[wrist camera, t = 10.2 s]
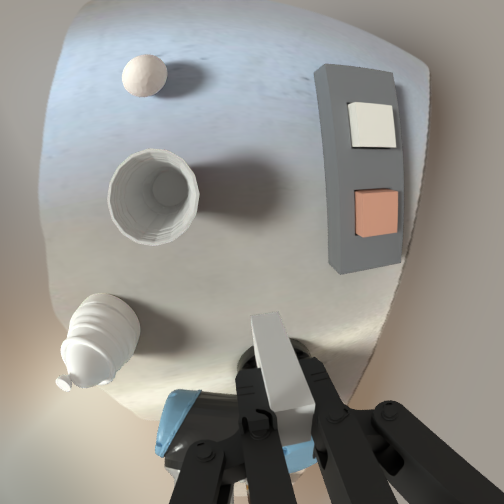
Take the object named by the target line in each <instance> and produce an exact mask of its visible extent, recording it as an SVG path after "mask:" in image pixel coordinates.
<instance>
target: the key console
mask: <svg viewBox="0 0 504 504" xmlns="http://www.w3.org/2000/svg"><path fill="white" fill-rule="evenodd" d="M314 79H315V86H316V93H317V100H318V107H319V115H320V124H321V133H322V143H323V154H324V166H325V179H326V195H327V216H328V253H329V264H330V265H331V266H332V267H333V268H334V269H335V270H336V271H337V272H338V273H339V274H340V275H341V274H347V273H352V272H357V271H362V270H368V269H373V268H378V267H383V266H387V265H392V264H397V263H401V254H402V241H403V221H404V169H403V150H402V137H401V126H400V117H399V109H398V102H397V95H396V89H395V83H394V77H393V73H391V72H386V71H381V70H375V69H368V68H361V67H354V66H345V65H335V64H324V65H323V66H321V67H320V68H319V69H318V70H316V71H315V72H314ZM353 102H362V103H373V104H383V105H391V106H392V110H393V119H394V128H395V139H396V147H351V137H350V127H349V118H348V110H347V105H348V104H351V103H353ZM375 188H386V189H390V190H395V191H398V223H397V233H390V234H383V235H376V236H370V237H361V236H360V235H358V234H356V233H355V201H354V190H360V189H375Z"/></svg>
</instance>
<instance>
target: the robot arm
mask: <svg viewBox="0 0 504 504" xmlns="http://www.w3.org/2000/svg"><path fill="white" fill-rule="evenodd" d="M251 325H252V334H253V343H254V346H252V347H251V348H249V349H248V350H247V351H246V352H245V353H244V354H243V355H242V357H241V358H240V360H239V362H238V367H237V372H238V374H237V376H236V378H235V382H236V391H237V395H234V394H222V393H212V392H204V391H202V390H198V391H194V390H183V389H177V390H174V391H172V392H171V393H170V394H169V396H168V398H167V400H166V403H165V406H164V409H163V412H162V416H161V419H160V424H159V428H158V433H157V441H156V446H155V453H156V454H157V455H158V456H160V457H162V458H163V457H165V469H166V470H167V471H168V472H169V473H170V474H171V475H172V476H173V478H174V490H173V493H172V496H171V499H170V502H169V504H234V483H235V482H238V481H241V480H243V479H246V478H247V483H248V489H249V496H250V502H251V504H297V502H296V498H295V494H294V491H293V487H292V483H291V479H290V475H289V473H293V472H297V471H300V470H302V469H305V468H307V467H309V466H311V465H313V464H315V463H317V462H318V464H319V467H320V470H321V473H322V476H323V479H324V482H325V485H326V488H327V491H328V494H329V497H330V500H331V503H332V504H398V502H397V500H396V498H395V496H394V494H393V492H392V490H391V487H390V486H389V483H390V484H391V485H392V486H393V487H394V488H395V489H396V490H397V491H398V492H399V493H400V494H401V495H402V496H403V498H404V499H405V500H406V501H407V502H408V503H409V504H504V493H503V492H502V491H501V490H500V489H499V488H498V487H496V486H495V485H494V484H493V483H492V482H490V481H489V480H488V479H487V478H486V477H484V476H483V475H482V474H481V473H480V472H479V471H477V470H476V469H475V468H474V467H473V466H471V465H470V464H469V463H468V462H467V461H466V460H465V459H463V458H462V457H461V456H460V455H459V454H457V453H456V452H455V451H454V450H453V449H452V448H451V447H449V446H448V445H447V444H446V443H445V442H444V441H443V440H441V439H440V438H439V437H438V436H437V435H436V434H434V433H433V432H432V431H431V430H430V429H429V428H428V427H427V426H425V425H424V424H423V423H422V422H421V421H420V420H418V419H417V418H416V417H415V416H414V415H413V414H412V413H411V412H409V411H408V410H407V409H406V408H405V407H404V406H403V405H402V404H400V403H398V402H396V401H391V400H390V401H384V402H381V403H379V404H378V405H377V406H376V407H375V409H374V410H355V409H351V408H349V407H348V406H346V405H344V404H343V402H342V401H341V399H340V397H339V395H338V393H337V391H336V389H335V387H334V385H333V383H332V381H331V379H330V377H329V375H328V373H327V372H326V369H325V367H324V365H323V363H322V362H320V361H319V360H318V359H317V358H315V357H313V358H312V357H311V355H310V353H309V351H308V349H307V348H306V347H305V346H304V345H303V344H302V343H300V342H298V341H296V340H293V339H289V337H288V334H287V332H286V329H285V327H284V324H283V322H282V319H281V317H280V314H279V312H272V313H265V314H258V315H251ZM387 480H388V481H389V483H388V481H387Z"/></svg>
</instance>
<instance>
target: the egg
mask: <svg viewBox="0 0 504 504" xmlns="http://www.w3.org/2000/svg"><path fill="white" fill-rule="evenodd" d="M166 79H167V68H166V66H165V64H164V62H163V61H162V60H161V59H160V58H158V57H156V56H153V55H140V56H137V57H135V58H133V59H132V60H131V61H129V62H128V64H127V65H126V66H125V68H124V71H123V74H122V82H123V85H124V87H125V89H126V90H127V91H128V92H129V93H131V94H132V95H134V96H137V97H148V96H151V95H154V94H156V93H157V92H158V91H159V90H161V89H162V87H163V86H164V84H165V82H166Z"/></svg>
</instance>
